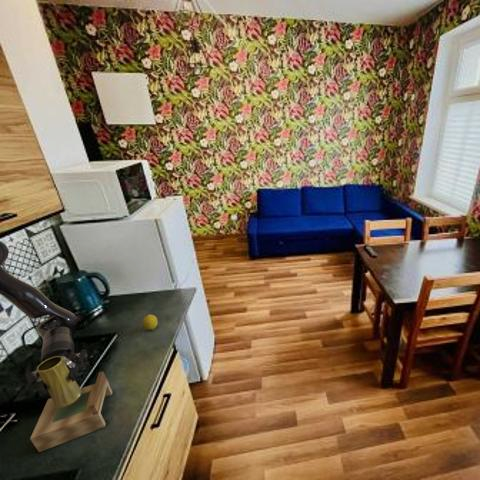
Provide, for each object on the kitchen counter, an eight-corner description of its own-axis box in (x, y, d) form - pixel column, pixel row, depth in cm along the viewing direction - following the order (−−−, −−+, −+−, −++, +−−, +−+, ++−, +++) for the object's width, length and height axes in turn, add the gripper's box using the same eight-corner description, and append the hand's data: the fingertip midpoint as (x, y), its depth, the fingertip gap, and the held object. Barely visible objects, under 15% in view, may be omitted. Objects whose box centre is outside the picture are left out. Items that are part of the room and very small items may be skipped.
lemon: (143, 329, 120) (138, 315, 117) (156, 323, 124) (152, 309, 120) (148, 335, 116) (143, 321, 113) (161, 328, 120) (157, 314, 117)
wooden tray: (39, 452, 74) (23, 429, 70) (55, 412, 85) (42, 390, 81) (104, 426, 81) (93, 404, 77) (112, 392, 91) (103, 371, 88)
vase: (52, 400, 79) (31, 365, 73) (78, 385, 83) (60, 351, 78) (58, 412, 76) (37, 376, 70) (85, 395, 80) (67, 361, 74)
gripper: (21, 353, 80) (15, 392, 69) (82, 330, 89) (86, 361, 78) (31, 371, 83) (28, 411, 72) (90, 347, 92) (95, 379, 81)
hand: (58, 385), depth 75 cm, fingers closed on vase, 5 cm apart
